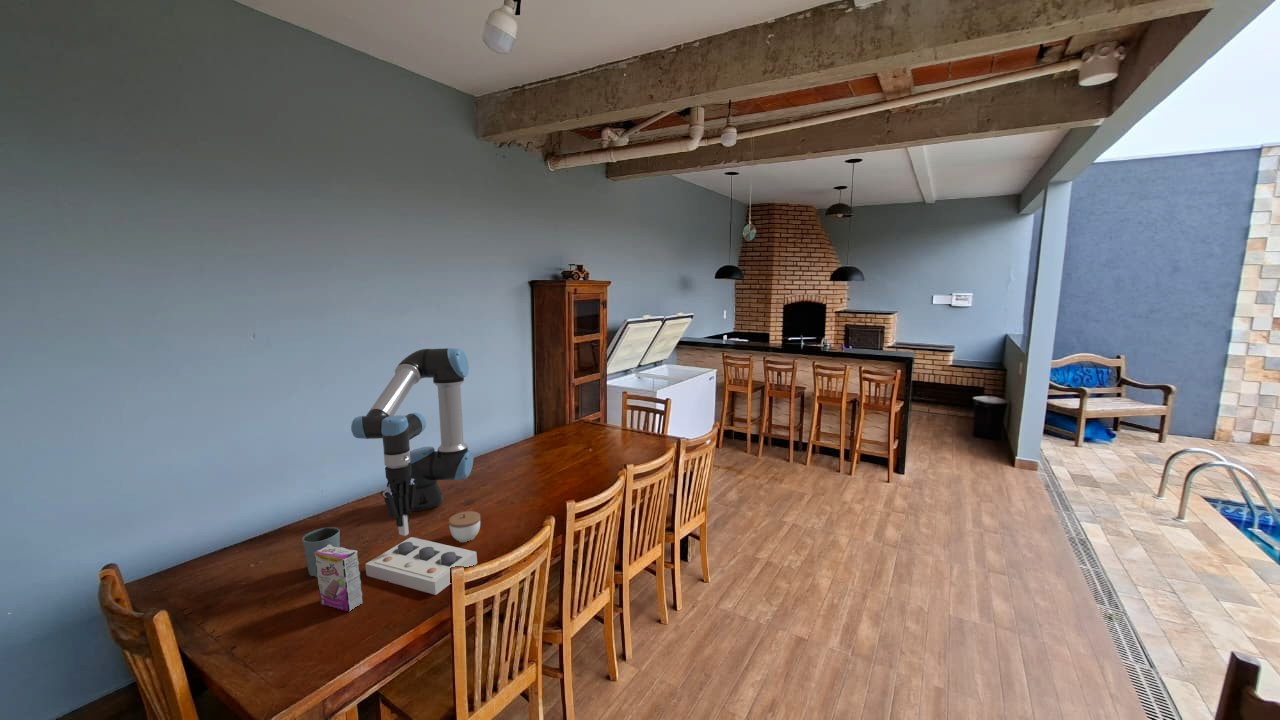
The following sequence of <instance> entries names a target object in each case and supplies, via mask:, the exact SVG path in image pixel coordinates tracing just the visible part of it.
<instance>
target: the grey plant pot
mask: <svg viewBox="0 0 1280 720" xmlns="http://www.w3.org/2000/svg"><path fill="white" fill-rule="evenodd" d="M340 534H341V531H340V529H339V528H338V527H334V526H333V527H332V526H331V527H330V526H329V527H321V528H318V529H314V530H312V531H309V532H308V533H306V534H304V536H302V538H301V541H302V546H303V549H304V555H305V560H306V565H307V569H308V570H307V571H308V574H309V575H310V576H311V577H312V576H315V577H314V578H318V577H317V570H316V562H315V554H314V553H315V552H316V551H318V550H320V549H321V548H323V547H325V546H327V545H334V546H338V547H341V546H340V545H341V543H340V542H341V541H340V537H341V535H340Z"/></svg>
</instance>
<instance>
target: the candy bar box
mask: <svg viewBox="0 0 1280 720" xmlns="http://www.w3.org/2000/svg"><path fill="white" fill-rule="evenodd" d="M358 551H359V550H356V549H351V548H345V547H343V546H340V547H338V546H334V545H327V546H325V547H323V548H321V549H320V550H318V551H316V552H315V553H314V554H315V562H316V570H317V577H316V578H317V583H318V584H317V585H318V592H319V600H320V605H321V606H325V607H328V608H331V607H333V608H332V609H335V608H337V610H339V609H340V611H343V610H344V611H343V612H346V611H348V612H347V613H351V612H352V611H351V610H352V609H354V608H355V607H357V606H358V607H359V606H361V605H362V604H363V603H364V599H363V598H364V597H363V590H362V589H363V587H362V580H361V579H362V578H361V569H360V562H359V561H360V560H359V552H358ZM360 604H361V605H360ZM358 607H357V608H358ZM355 609H356V608H355ZM355 609H354V610H355ZM350 611H351V612H350Z"/></svg>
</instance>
